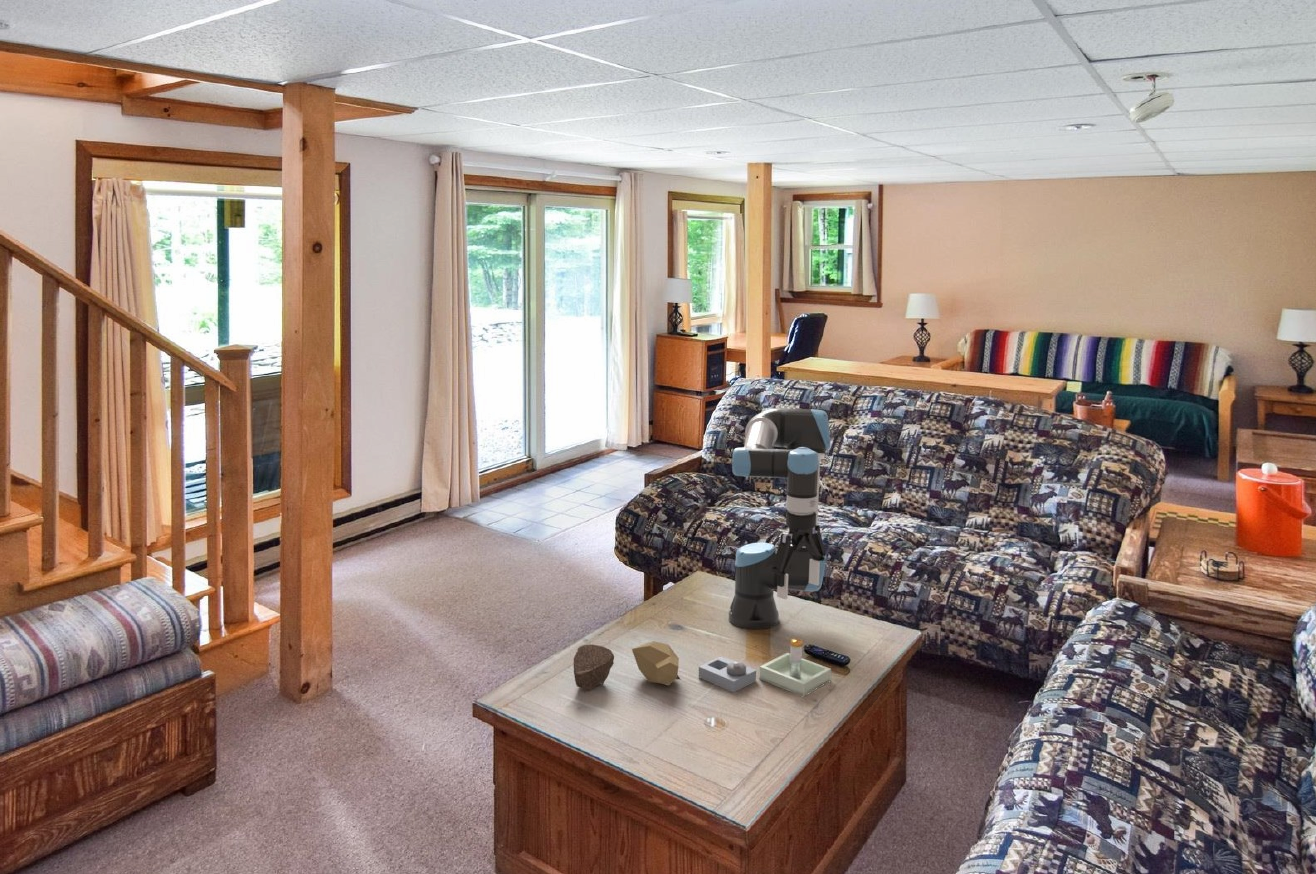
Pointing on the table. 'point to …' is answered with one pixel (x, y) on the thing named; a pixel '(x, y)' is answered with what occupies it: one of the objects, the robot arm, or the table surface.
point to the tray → (779, 676)
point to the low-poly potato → (657, 662)
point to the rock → (592, 666)
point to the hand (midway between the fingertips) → (798, 590)
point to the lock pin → (795, 658)
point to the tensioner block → (727, 673)
